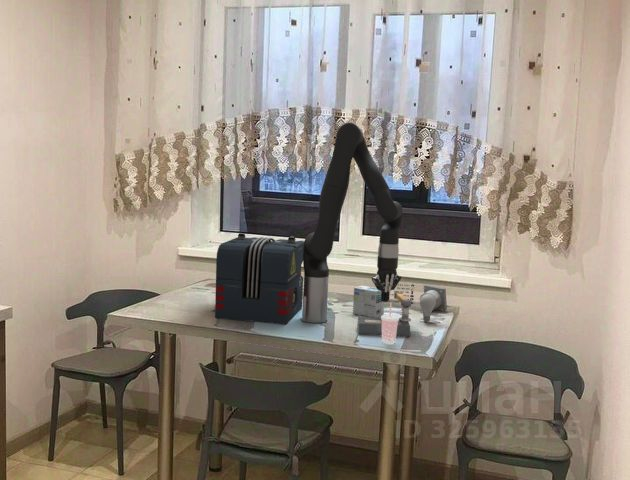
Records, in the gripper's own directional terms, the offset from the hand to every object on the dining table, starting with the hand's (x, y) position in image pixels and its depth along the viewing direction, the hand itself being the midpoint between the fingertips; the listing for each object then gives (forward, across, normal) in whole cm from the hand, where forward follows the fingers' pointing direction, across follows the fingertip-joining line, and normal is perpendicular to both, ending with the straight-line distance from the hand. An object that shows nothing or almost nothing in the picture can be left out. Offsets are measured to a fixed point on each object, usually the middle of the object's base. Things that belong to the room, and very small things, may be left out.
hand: (384, 301), depth 250 cm
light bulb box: (+10, -6, -16) cm, 20 cm away
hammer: (0, -5, +4) cm, 6 cm away
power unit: (+10, +32, -36) cm, 49 cm away
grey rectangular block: (+9, +6, +6) cm, 13 cm away
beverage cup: (+10, +12, +18) cm, 24 cm away
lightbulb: (+9, -19, +3) cm, 21 cm away
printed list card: (+9, -31, -16) cm, 36 cm away
